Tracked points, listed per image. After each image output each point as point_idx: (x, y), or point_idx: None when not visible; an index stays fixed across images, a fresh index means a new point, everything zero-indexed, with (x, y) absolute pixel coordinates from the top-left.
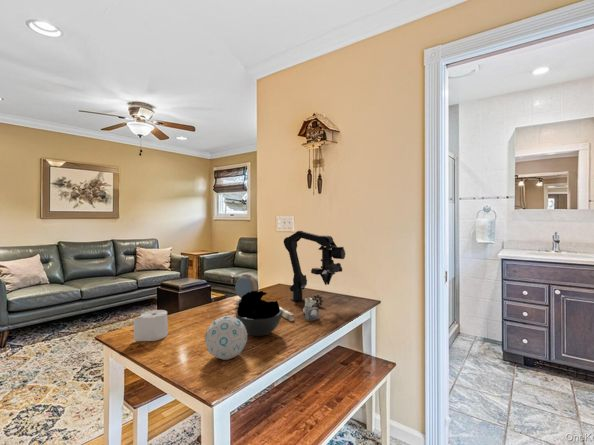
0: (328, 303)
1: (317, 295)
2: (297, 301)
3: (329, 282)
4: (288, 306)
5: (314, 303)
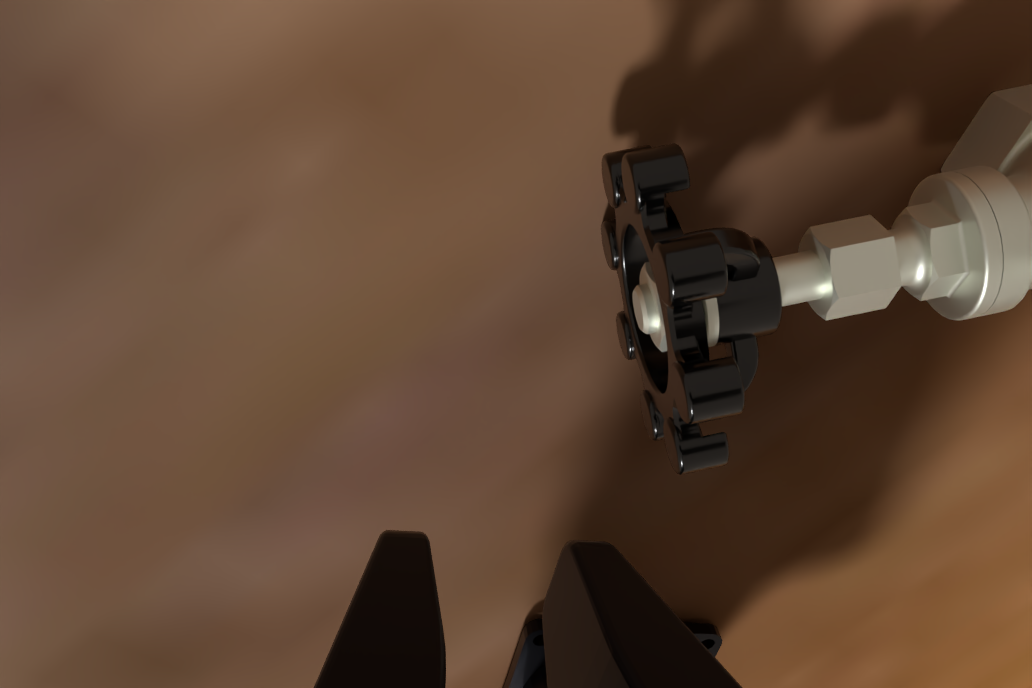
0: (248, 213)
1: (742, 391)
2: (688, 627)
3: (367, 625)
4: (983, 532)
5: (870, 222)
